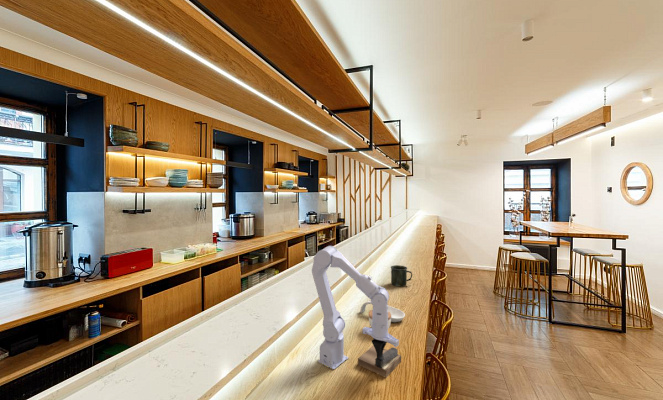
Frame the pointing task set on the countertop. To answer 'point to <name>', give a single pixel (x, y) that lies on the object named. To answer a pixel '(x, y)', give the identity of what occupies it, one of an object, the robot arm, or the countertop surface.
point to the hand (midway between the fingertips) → (379, 358)
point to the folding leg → (386, 357)
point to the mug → (399, 275)
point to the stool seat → (369, 362)
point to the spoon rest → (395, 313)
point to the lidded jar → (371, 318)
